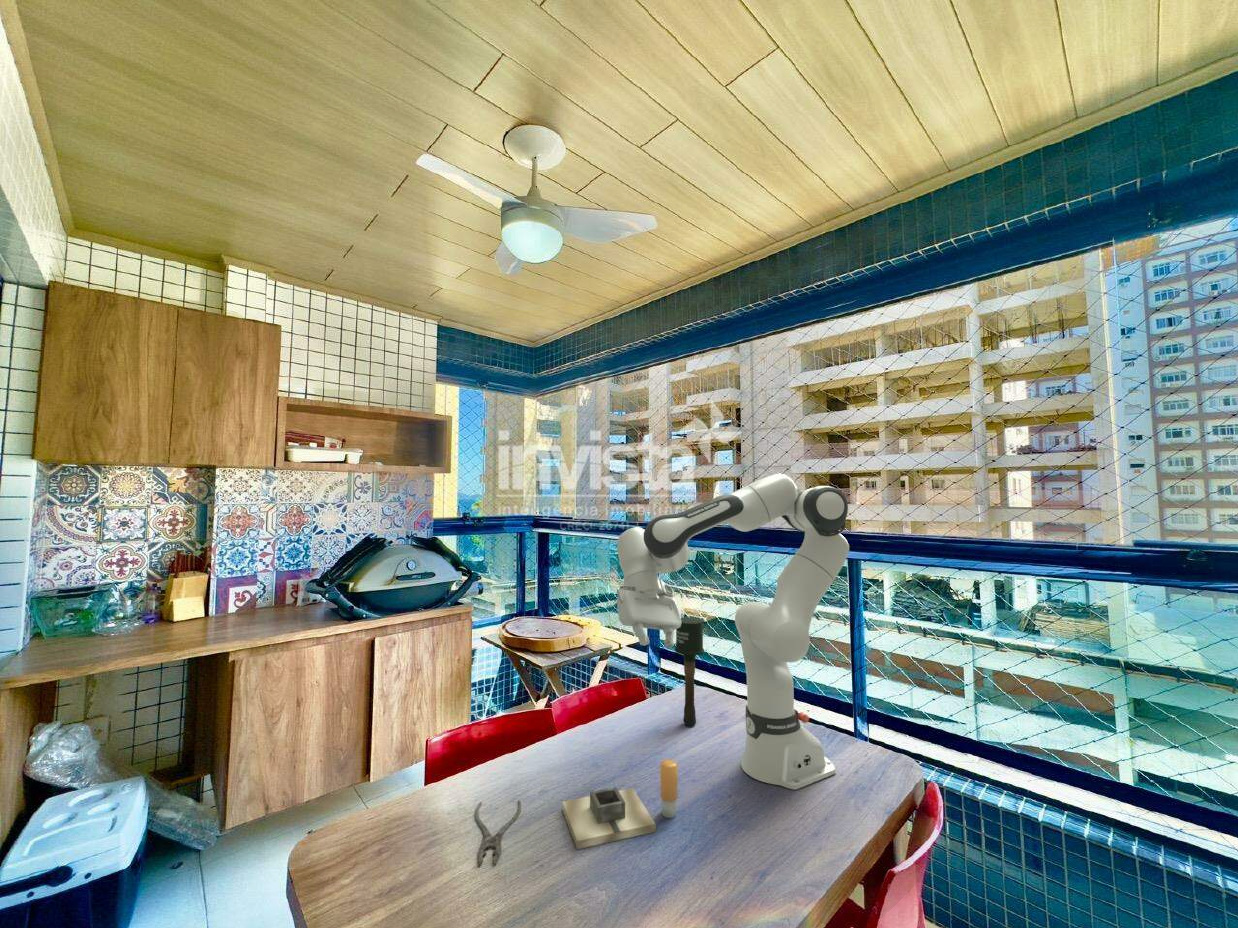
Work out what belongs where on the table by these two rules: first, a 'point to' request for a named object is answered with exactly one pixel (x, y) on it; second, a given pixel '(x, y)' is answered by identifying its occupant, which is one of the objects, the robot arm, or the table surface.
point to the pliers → (490, 840)
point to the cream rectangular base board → (606, 817)
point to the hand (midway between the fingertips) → (657, 645)
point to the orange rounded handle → (668, 787)
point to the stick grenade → (689, 660)
